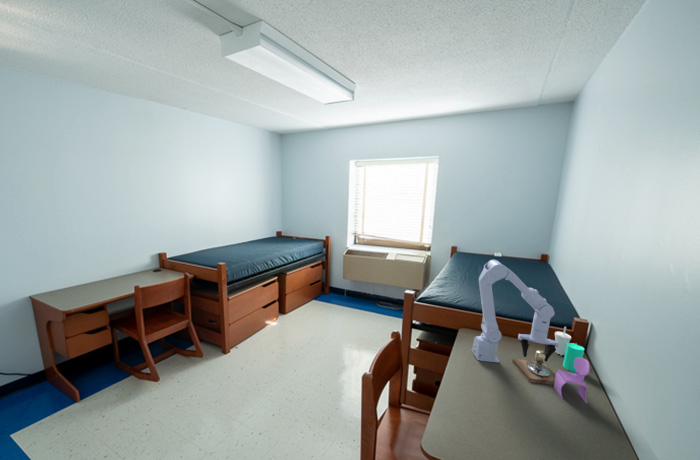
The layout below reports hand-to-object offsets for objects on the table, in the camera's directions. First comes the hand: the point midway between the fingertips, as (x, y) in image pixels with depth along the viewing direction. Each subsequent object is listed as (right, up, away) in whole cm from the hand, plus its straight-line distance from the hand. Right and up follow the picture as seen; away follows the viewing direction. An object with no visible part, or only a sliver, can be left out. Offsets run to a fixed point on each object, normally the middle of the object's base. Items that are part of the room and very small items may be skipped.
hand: (534, 358), depth 118 cm
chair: (+2, -7, -16) cm, 18 cm away
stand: (-2, -4, -4) cm, 7 cm away
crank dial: (-1, -2, -4) cm, 5 cm away
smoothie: (+21, -4, +13) cm, 25 cm away
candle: (+17, -5, +1) cm, 18 cm away
